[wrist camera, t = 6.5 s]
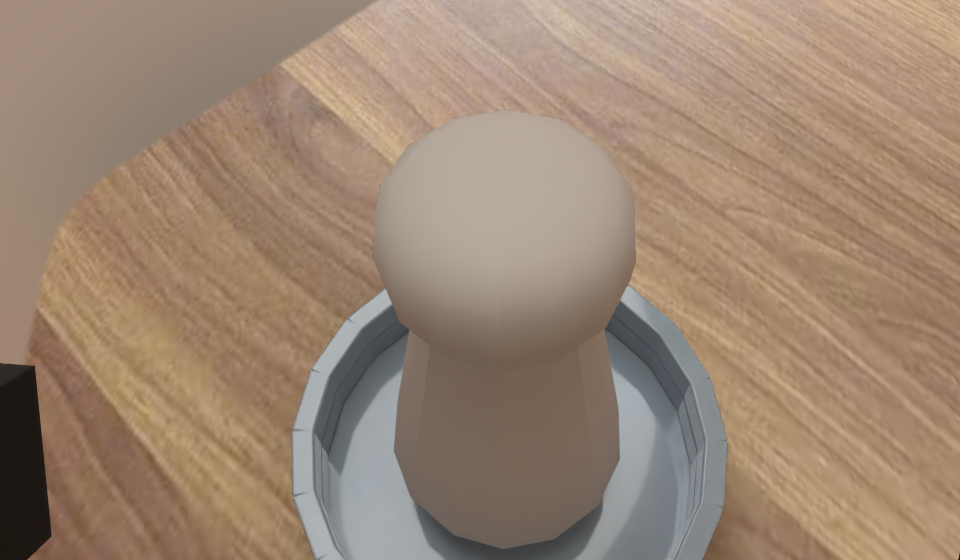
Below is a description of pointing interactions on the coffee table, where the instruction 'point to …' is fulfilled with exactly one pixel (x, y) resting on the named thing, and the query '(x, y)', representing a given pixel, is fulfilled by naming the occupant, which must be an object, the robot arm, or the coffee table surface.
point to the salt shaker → (506, 321)
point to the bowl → (571, 556)
